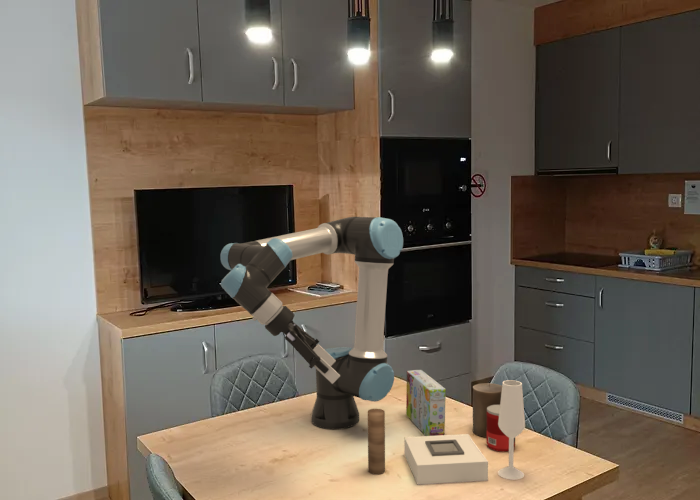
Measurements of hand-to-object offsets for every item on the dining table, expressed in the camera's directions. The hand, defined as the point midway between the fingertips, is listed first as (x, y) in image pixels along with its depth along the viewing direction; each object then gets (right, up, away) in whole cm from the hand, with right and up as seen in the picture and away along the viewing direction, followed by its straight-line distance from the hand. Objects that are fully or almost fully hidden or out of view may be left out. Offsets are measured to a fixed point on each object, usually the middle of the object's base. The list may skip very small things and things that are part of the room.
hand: (334, 371), depth 167 cm
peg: (+11, -27, +4) cm, 29 cm away
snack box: (+27, -23, +35) cm, 50 cm away
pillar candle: (+46, -24, +29) cm, 59 cm away
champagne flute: (+45, -27, +1) cm, 53 cm away
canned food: (+47, -25, +19) cm, 56 cm away
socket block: (+29, -26, +6) cm, 39 cm away
